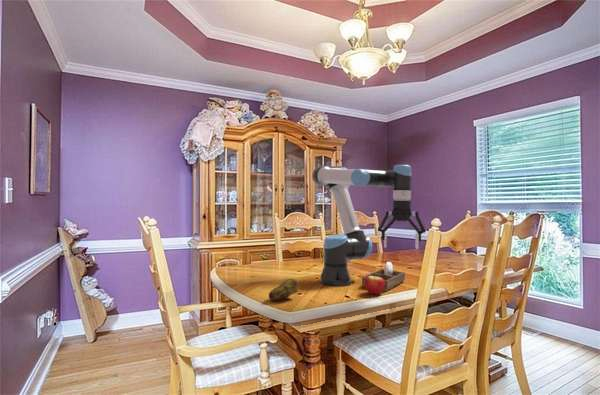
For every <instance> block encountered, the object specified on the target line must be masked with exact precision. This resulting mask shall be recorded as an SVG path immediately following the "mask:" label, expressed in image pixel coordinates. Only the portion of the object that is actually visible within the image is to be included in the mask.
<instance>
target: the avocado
mask: <svg viewBox="0 0 600 395" xmlns="http://www.w3.org/2000/svg"><path fill="white" fill-rule="evenodd" d="M298 290H299V282H298V281H297V280H295V279H293V278H288V279H285V280H284V281H282V282H281V283H280V284H278V286H277V287H274V288H273V289H271V290H270V291H269V292H268V298H269V300H271V301H273V302H275V301H281V300H285V299H287V298H289V297H290V296H291V295H294V294H297V293H298V292H299V291H298Z"/></svg>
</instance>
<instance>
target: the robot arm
mask: <svg viewBox="0 0 600 395" xmlns="http://www.w3.org/2000/svg"><path fill="white" fill-rule="evenodd" d="M412 176H413V174H412V166H411V165H409V164H396V165H394V166H393V169H392V170H379V169H377V170H376V169H366V168H352V169H351V168H347V167H344V166H339V165H338V166H334V165H323V164H322V165H319V166H317V167H315V168H314V169H313V171H312V174H311V178H312V180H313V182H314V183H315V184H316V185H318V186H321V187H328V191H329V193H331V194H333V198H334V201H335V205H336V208H337V212H338V215H339V219H340V223H341V226H342V230H343V234H342V233H341V234H331V235H328V236H325V238H324V241H323V268H322V270H321V275H320V283H321V284H323V285H327V286H335V287H337V286H338V287H339V286H341V287H342V286H347V285H350V284H351V283H352V279H351V274H350V272H349V268H348V261H351V260H362V259H366V258H368V257H369V256H370V255H371V253H372V250H373V242H372V239H371V237H369V236H368V235H365V231H364V230H363V229H361V228H360V225H359V222H358V218H357V215H356V212H355V209H354V205H353V201H352V199H351V195H350V192H349V188H350V186H358V187H375V188H376V187H377V188H391V187H392V189H393V190H392V192H393V193H392V199H393V201H392V211H390V210H385V213H384V216H383V218H382V220H381V222H380V224H379V226H378V228H377V231H378V232H381V241H383V248H385V249H386V248H387V232H386V231H388V229H389V228H390V227H391V226H392V225H393V224H394V223H395V222H396V221H397V222H408V223H409V224H410V226H411V227H412V228H413V229H414V230H415V232H416V233H415V240H414V241H415V245H414V246H415V247H414V249H416V250H419V242H421V241H422V234H425V233H426V232H427V231H426V228H425V227H424V225H423V222H422V220H421V219H420V217H419V211H416V210H415V211H412V210H411V208H412V206H411V204H412V202H411V199H412ZM391 215H392V218H391V220H389V221H388V223H387V224H386V221H387V219H388V218H389V216H391ZM411 216H413V217H414V218H415V221H416V222H417V225H418V226H417V225H416V224H415V223H414V222H413V220H412V219H411V218H410V217H411ZM385 224H386V225H385ZM384 225H385V226H384ZM418 227H419V228H418Z"/></svg>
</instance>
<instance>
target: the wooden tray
mask: <svg viewBox="0 0 600 395" xmlns="http://www.w3.org/2000/svg"><path fill="white" fill-rule="evenodd" d="M384 269H385V268H384ZM384 269H383V268H382V269H379V270H376V271H374V272H372V273H373V274H372V273H371V272H370V273H369V274H366V275H364V276H362V277H361V285H362V287H364V288H365V289H366V287H365V278H366V277H368V276H373V275H374V276H376V277H380V278H383V279H384V289H383V291H382V292H388V291H390V290H391V289H393V288H395V287H396V285H397V286H399V285H400V283H401V282H402V283H404V282H403V281H404V280H406V273H405V272H403V271H398V270H397V271H396V270H393V273H392V276H391V275H384ZM402 283H401V284H402ZM398 284H399V285H398ZM394 286H395V287H394ZM389 289H390V290H389ZM387 290H388V291H387Z"/></svg>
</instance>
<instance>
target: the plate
mask: <svg viewBox="0 0 600 395" xmlns="http://www.w3.org/2000/svg"><path fill="white" fill-rule="evenodd" d="M385 263H386V264H385V266H384V275H391V276H392V273H393V271H394V270H393V268H394V266H393V263H392V262H391V261H387V262H385Z"/></svg>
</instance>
